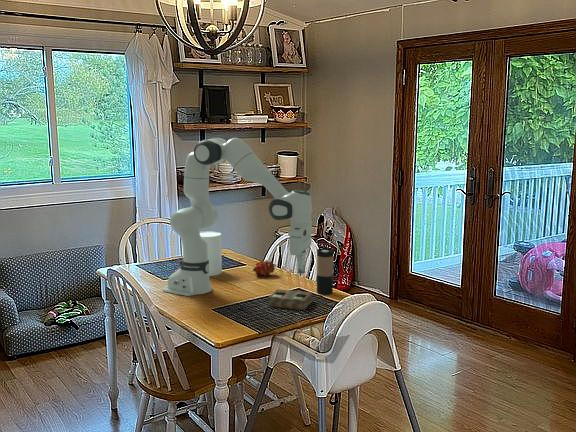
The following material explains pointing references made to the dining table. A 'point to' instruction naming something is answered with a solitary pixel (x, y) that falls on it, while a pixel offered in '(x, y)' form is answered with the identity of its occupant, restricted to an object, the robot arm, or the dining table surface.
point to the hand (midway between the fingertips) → (301, 260)
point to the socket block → (290, 299)
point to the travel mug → (325, 271)
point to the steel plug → (302, 264)
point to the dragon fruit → (264, 268)
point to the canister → (213, 251)
